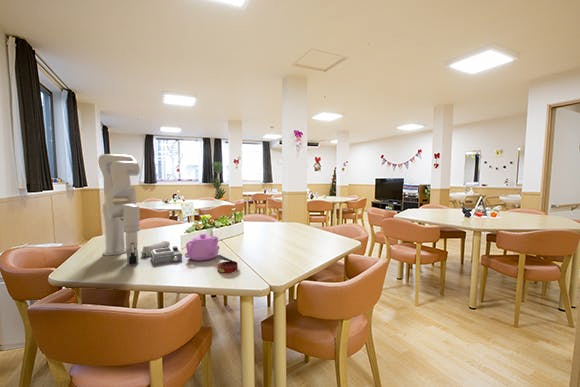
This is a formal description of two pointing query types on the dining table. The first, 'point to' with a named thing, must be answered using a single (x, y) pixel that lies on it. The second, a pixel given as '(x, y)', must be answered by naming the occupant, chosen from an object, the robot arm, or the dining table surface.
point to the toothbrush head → (148, 249)
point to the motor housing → (166, 255)
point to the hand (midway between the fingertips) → (132, 261)
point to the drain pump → (129, 256)
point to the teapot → (202, 248)
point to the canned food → (226, 265)
